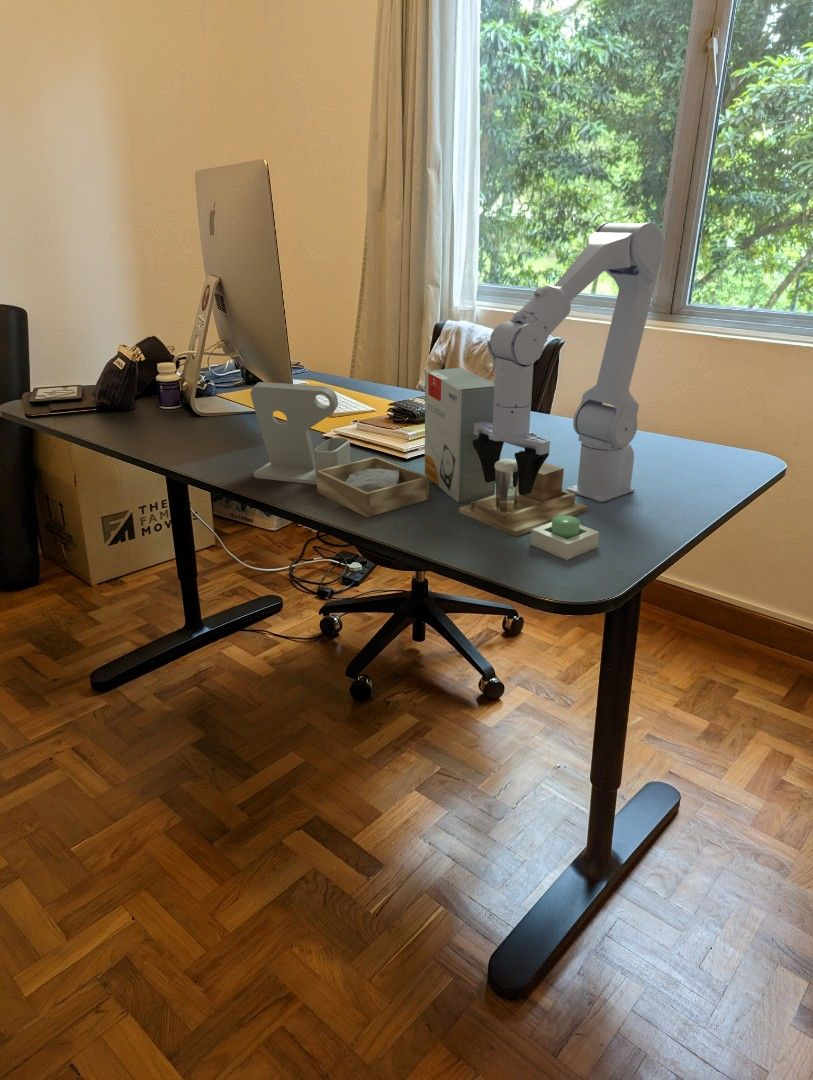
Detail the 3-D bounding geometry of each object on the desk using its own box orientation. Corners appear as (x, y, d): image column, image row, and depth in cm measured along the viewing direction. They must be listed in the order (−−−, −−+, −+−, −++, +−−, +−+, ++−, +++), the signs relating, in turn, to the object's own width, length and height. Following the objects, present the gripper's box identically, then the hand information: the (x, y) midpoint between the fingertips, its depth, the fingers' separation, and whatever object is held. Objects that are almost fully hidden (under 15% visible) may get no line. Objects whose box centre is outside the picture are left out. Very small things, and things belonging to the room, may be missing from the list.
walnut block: (538, 494, 129) (541, 461, 127) (560, 502, 126) (563, 468, 123) (518, 500, 126) (520, 467, 124) (540, 509, 123) (543, 474, 120)
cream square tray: (561, 532, 116) (562, 518, 115) (597, 547, 111) (599, 531, 110) (530, 544, 112) (531, 529, 111) (566, 560, 107) (568, 544, 106)
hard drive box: (423, 476, 141) (423, 370, 133) (459, 471, 143) (462, 367, 135) (456, 503, 128) (459, 387, 120) (496, 497, 130) (502, 384, 122)
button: (563, 528, 113) (564, 513, 112) (584, 536, 110) (585, 521, 109) (545, 535, 111) (546, 519, 110) (566, 543, 108) (567, 528, 107)
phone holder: (356, 470, 145) (353, 377, 137) (336, 487, 136) (331, 388, 128) (275, 462, 149) (268, 371, 142) (250, 477, 141) (241, 382, 133)
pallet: (529, 490, 134) (530, 477, 133) (586, 510, 124) (588, 497, 123) (458, 512, 124) (459, 498, 123) (515, 536, 115) (516, 522, 114)
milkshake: (529, 511, 122) (532, 453, 118) (509, 520, 118) (512, 460, 114) (506, 504, 125) (509, 447, 121) (486, 513, 121) (489, 454, 117)
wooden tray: (376, 477, 141) (376, 456, 139) (428, 499, 130) (429, 477, 128) (317, 492, 133) (316, 470, 131) (367, 517, 122) (366, 494, 121)
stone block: (344, 517, 126) (401, 505, 125) (336, 491, 125) (394, 478, 124) (351, 497, 138) (404, 486, 136) (345, 472, 136) (398, 461, 135)
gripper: (460, 399, 117) (458, 480, 123) (529, 417, 107) (523, 505, 112) (493, 392, 121) (489, 472, 127) (561, 409, 111) (554, 495, 116)
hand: (507, 487), depth 120 cm, fingers open, 7 cm apart
